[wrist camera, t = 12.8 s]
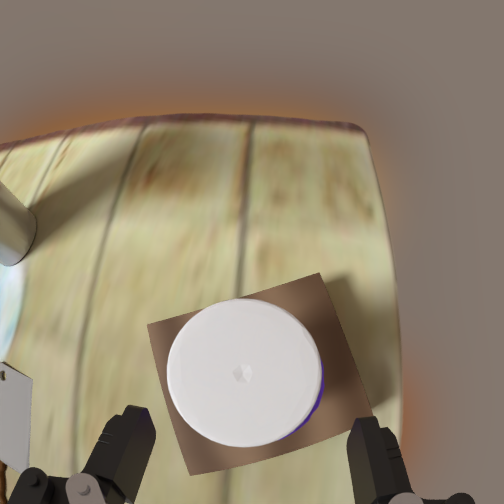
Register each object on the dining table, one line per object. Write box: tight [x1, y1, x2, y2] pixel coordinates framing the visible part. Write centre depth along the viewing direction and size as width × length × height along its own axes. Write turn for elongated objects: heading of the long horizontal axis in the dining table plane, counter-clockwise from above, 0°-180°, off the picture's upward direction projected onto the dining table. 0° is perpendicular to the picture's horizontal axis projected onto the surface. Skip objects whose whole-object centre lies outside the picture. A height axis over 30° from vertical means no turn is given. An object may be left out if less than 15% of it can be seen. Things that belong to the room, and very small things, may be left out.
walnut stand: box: [147, 273, 373, 476], centre depth 25 cm, size 16×14×4 cm
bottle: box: [167, 299, 324, 447], centre depth 15 cm, size 7×6×17 cm
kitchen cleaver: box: [0, 362, 33, 504], centre depth 22 cm, size 24×1×10 cm
